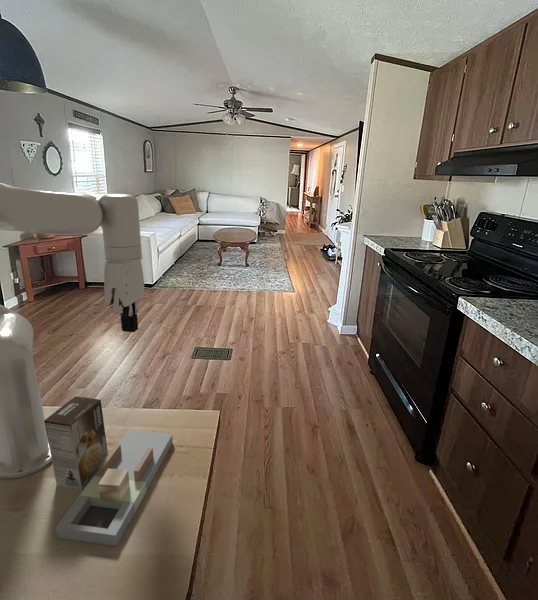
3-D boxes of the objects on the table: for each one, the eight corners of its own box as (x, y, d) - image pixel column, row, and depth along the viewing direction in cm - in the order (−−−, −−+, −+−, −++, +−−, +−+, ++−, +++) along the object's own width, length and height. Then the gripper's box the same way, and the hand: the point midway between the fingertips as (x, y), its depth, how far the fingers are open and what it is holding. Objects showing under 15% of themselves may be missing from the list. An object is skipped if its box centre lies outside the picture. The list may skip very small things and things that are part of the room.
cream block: (100, 500, 71) (98, 484, 70) (110, 484, 75) (108, 468, 73) (121, 502, 71) (119, 485, 69) (129, 485, 74) (128, 469, 73)
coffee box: (84, 455, 86) (75, 394, 81) (109, 460, 84) (102, 398, 79) (54, 485, 77) (43, 419, 72) (82, 491, 76) (72, 424, 71)
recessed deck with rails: (57, 537, 66) (53, 516, 65) (129, 438, 92) (127, 421, 90) (116, 546, 65) (114, 524, 63) (172, 443, 91) (171, 425, 89)
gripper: (123, 246, 89) (129, 318, 94) (87, 258, 75) (97, 342, 80) (153, 247, 88) (158, 320, 94) (123, 260, 74) (130, 345, 80)
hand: (130, 330), depth 87 cm, fingers closed
